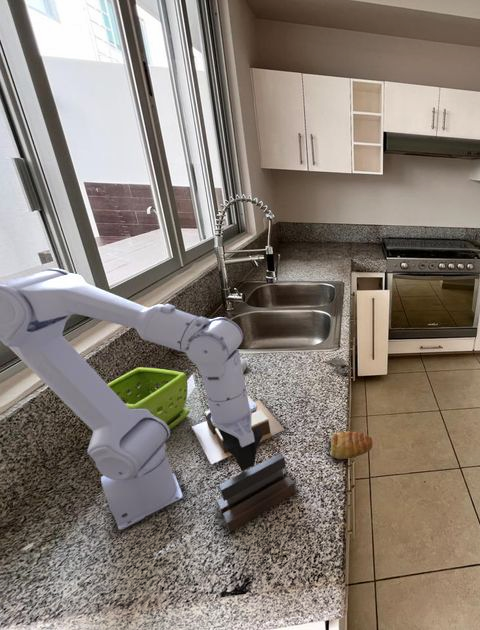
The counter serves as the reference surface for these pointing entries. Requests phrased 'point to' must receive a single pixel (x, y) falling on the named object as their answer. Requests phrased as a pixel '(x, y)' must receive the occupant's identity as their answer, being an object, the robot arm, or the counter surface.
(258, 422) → the cake front
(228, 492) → the knife
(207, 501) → the counter surface
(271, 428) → the cake board
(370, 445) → the pastry
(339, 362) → the meat cleaver
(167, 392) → the flower pot
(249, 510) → the stand
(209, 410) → the cake back
